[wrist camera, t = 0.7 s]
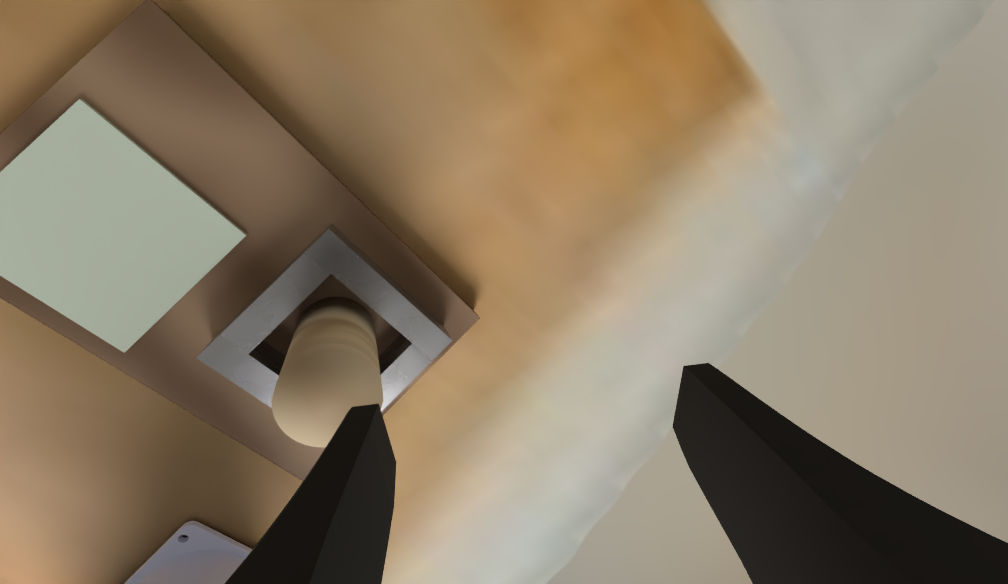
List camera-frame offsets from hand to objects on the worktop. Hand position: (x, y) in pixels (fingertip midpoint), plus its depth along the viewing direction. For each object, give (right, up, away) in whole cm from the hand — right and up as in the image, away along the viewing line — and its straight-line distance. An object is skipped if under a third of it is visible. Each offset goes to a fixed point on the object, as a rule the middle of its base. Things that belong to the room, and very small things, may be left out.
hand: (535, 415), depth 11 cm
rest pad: (-19, +6, +10) cm, 22 cm away
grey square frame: (-10, +1, +14) cm, 17 cm away
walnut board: (-14, +4, +13) cm, 20 cm away
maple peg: (-10, +1, +14) cm, 17 cm away
